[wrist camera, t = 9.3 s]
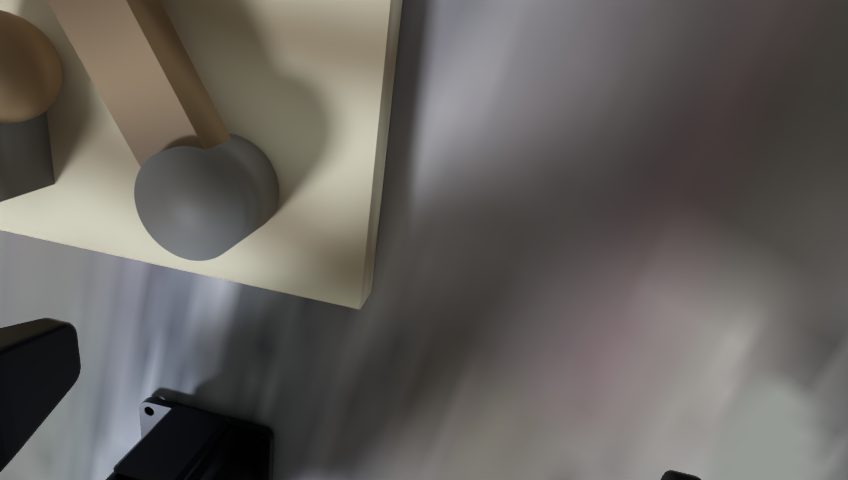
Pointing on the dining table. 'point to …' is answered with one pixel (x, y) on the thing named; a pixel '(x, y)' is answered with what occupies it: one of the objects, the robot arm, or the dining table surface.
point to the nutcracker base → (241, 115)
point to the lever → (170, 129)
